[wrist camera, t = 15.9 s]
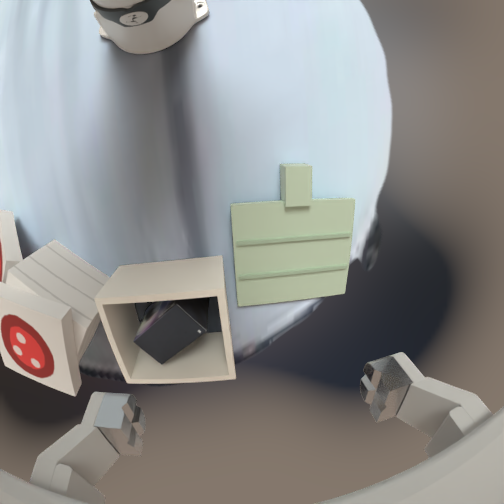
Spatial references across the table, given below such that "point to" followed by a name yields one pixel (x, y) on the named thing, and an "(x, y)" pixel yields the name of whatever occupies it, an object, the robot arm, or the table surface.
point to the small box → (172, 326)
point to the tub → (162, 289)
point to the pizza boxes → (46, 309)
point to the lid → (291, 243)
